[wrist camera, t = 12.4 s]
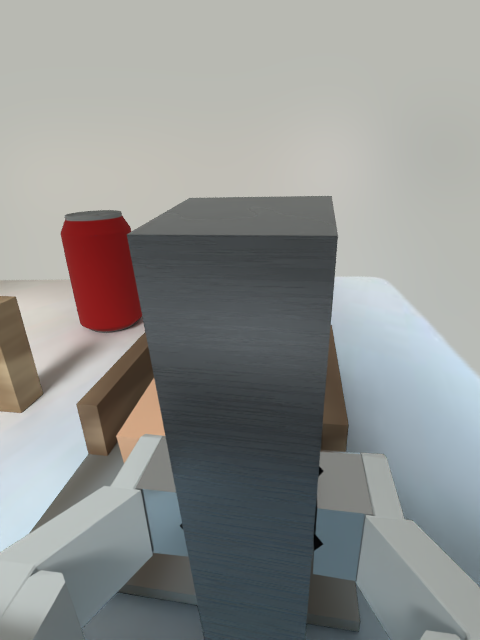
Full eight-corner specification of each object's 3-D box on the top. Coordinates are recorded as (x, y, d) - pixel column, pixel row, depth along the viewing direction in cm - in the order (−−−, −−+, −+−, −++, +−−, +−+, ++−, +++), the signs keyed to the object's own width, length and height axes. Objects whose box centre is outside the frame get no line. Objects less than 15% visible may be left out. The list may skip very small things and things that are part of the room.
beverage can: (129, 308, 45) (113, 208, 41) (154, 324, 41) (139, 212, 36) (73, 322, 42) (48, 214, 37) (93, 342, 37) (67, 219, 32)
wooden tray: (9, 574, 16) (-20, 504, 14) (163, 361, 33) (157, 318, 31) (358, 632, 13) (370, 556, 12) (328, 370, 30) (331, 325, 29)
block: (134, 502, 18) (115, 435, 16) (167, 435, 22) (155, 374, 20) (222, 515, 17) (215, 447, 15) (240, 443, 21) (236, 381, 19)
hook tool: (44, 658, 12) (-236, 232, 5) (178, 398, 23) (139, 158, 17) (298, 723, 10) (337, 236, 4) (309, 411, 22) (324, 151, 15)
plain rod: (-8, 410, 27) (-45, 307, 24) (15, 391, 29) (-15, 295, 26) (21, 412, 26) (-12, 308, 23) (43, 393, 28) (15, 296, 25)
